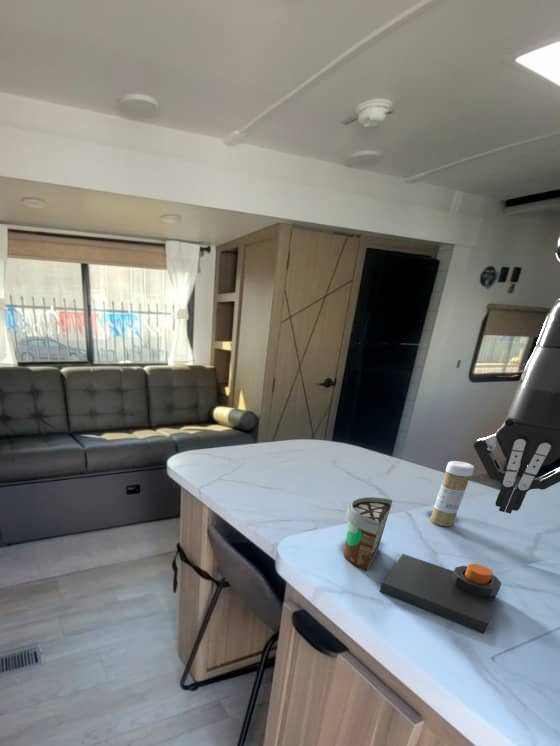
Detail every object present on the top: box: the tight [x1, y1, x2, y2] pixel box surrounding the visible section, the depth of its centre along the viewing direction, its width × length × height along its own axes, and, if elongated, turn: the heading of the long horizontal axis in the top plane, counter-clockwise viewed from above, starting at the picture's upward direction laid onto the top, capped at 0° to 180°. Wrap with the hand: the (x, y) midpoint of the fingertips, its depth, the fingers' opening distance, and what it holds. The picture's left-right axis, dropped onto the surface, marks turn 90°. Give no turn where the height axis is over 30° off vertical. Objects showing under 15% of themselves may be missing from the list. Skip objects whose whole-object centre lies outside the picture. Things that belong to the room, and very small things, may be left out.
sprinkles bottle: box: [429, 460, 475, 527], centre depth 85 cm, size 5×5×13 cm
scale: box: [378, 553, 502, 635], centre depth 64 cm, size 14×12×4 cm
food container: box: [343, 496, 393, 572], centre depth 73 cm, size 12×6×10 cm, turn 145°
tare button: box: [465, 563, 494, 584], centre depth 63 cm, size 3×3×2 cm
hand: (504, 510), depth 58 cm, fingers closed
